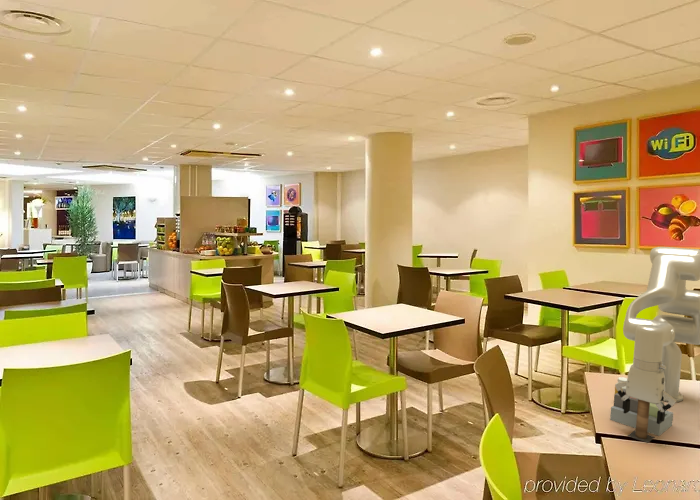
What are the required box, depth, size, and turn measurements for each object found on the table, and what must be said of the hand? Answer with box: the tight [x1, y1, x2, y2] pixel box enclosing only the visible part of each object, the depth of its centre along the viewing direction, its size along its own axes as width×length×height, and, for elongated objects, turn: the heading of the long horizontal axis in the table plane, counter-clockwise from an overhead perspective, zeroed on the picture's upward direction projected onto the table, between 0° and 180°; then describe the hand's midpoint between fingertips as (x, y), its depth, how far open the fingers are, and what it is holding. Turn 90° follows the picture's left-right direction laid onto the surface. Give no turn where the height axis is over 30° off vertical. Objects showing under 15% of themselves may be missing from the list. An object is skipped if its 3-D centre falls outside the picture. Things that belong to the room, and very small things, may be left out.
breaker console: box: [609, 389, 674, 437], centre depth 171 cm, size 12×15×9 cm
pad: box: [627, 429, 655, 444], centre depth 161 cm, size 6×6×1 cm
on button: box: [649, 403, 659, 418], centre depth 168 cm, size 5×5×5 cm
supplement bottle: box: [614, 376, 628, 394], centre depth 188 cm, size 5×5×10 cm
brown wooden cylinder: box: [635, 399, 650, 439], centre depth 161 cm, size 3×3×14 cm
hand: (642, 417), depth 161 cm, fingers open, 9 cm apart
